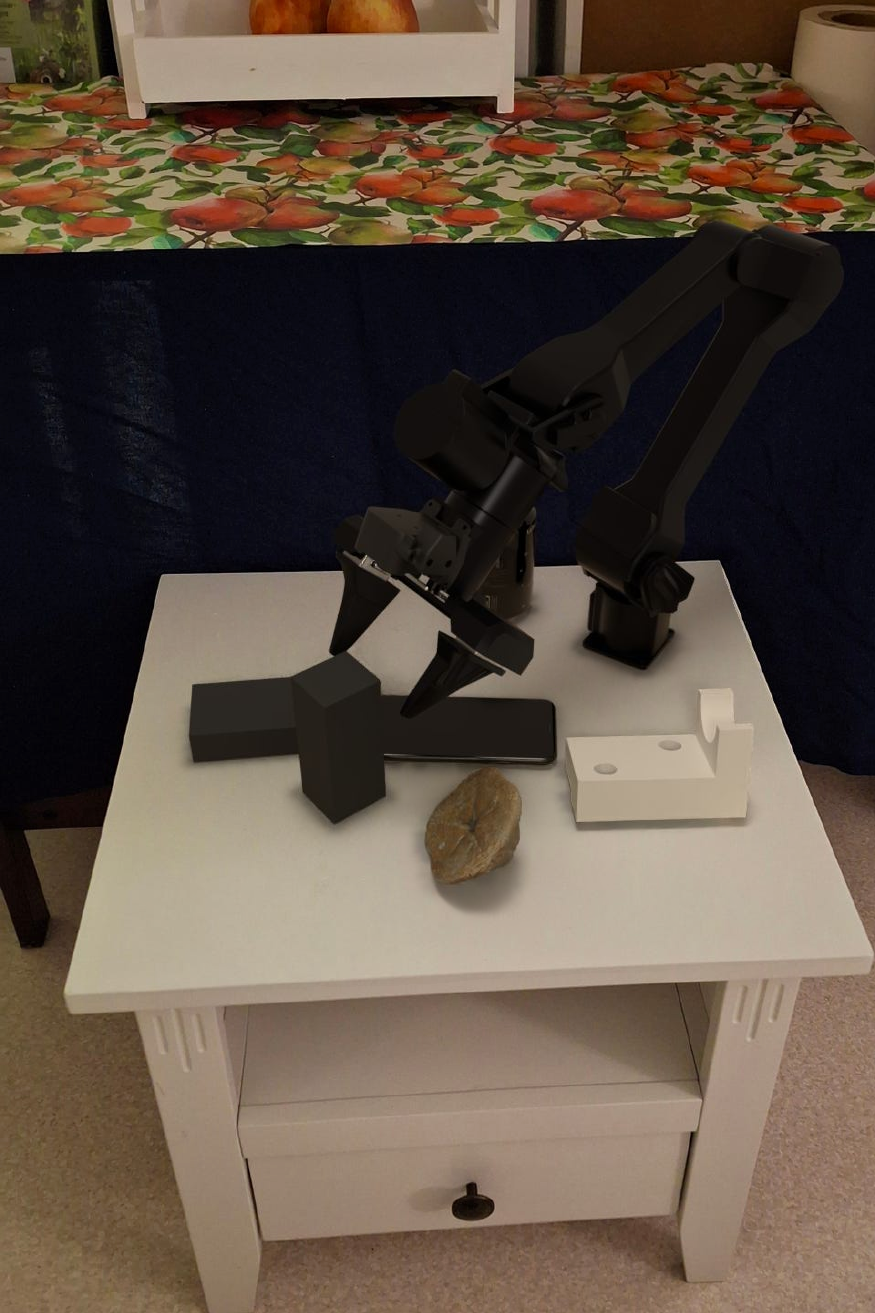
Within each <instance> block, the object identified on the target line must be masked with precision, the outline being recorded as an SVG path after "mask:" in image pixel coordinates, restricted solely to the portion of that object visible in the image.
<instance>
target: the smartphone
mask: <svg viewBox="0 0 875 1313" xmlns="http://www.w3.org/2000/svg"><path fill="white" fill-rule="evenodd" d="M408 696H409V694H408V695H407V694H405V695H403V694H381V697H382V720H383V742H384V762H397V763H399V762H400V763H434V764H437V763H438V764H464V765H465V764H468V765H469V764H470V765H499V766H500V765H502V766H503V765H504V766H505V765H508V766H510V765H511V766H535V767H537V766H539V767H545V766H550V765H553V764H554V763H555V762H556V761H557V758H558V726H557V725H558V724H557V723H558V722H557V707H556V704H555V703H554V702H553V701H552V700H549V699H546V698H522V697H521V698H520V697H484V696H483V697H482V696H450V695H449V696H448V697H446V698H444V699H443V700H441V701H439V702H438V703H436V704H435V705H433V706H431V707H430V708H428V709H426V710H425V711H423V712H422V713H420V714H418V715H417V716H415V717H413V718H412V719H406V718H404V717H402V716H401V715H400V711H401V709H402V707H403V705H404V703H405V701H406V699H407V697H408Z"/></svg>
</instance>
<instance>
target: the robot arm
mask: <svg viewBox="0 0 875 1313" xmlns="http://www.w3.org/2000/svg"><path fill="white" fill-rule="evenodd" d="M844 278H845V270H844V268H843V265H842V261H841V254H840V252H839V249H838V248H837V247H836V246H834V245H832V244H830V243H828V242H825V241H821V240H819V239H816V238H813V237H810V236H807V235H804V234H801V233H798V232H796V231H793V230H789V229H787V228H784V227H782V226H778V225H775V224H765V225H763V226H761V227H759V228H754V229H752V230H749V229H746V228H743V227H741V226H738V225H735V224H732V223H730V222H726V221H724V220H721V219H718V220H710V221H709V220H707V221H706V222H704V223H702V224H700V226H699V227H698V228H697V229H696V230H695V232H694V234H693V236H692V237H691V240H690V242H689V243H688V244H687V245H686V246H685V247H684V248H683V249H682V250H681V251H679V252H678V253H677V254H675V256H673V257H672V258H671V259H669V261H667V263H666V264H664V265H663V266H662V267H661V268H660V269H658V270H657V271H656V272H654V273H653V275H651V276H650V277H648V278H647V280H645V281H644V282H643V283H642V284H641V285H640V286H638V287H637V288H636V289H635V290H634V291H633V292H631V293H630V294H629V295H628V296H627V297H626V298H624V299H623V300H622V301H621V302H620V303H619V304H618V305H617V306H615V307H614V308H613V309H611V311H609V313H607V314H606V315H605V316H604V317H603V318H601V320H599V321H598V322H597V323H594V324H593V325H592V326H590V327H588V328H587V329H585V330H582V331H577V332H573V333H570V334H566V335H561V336H558V337H557V336H556V337H554V338H552V339H551V340H549V341H547V342H546V343H545V344H543V345H541V346H540V347H539V348H537V349H535V350H534V351H532V352H531V353H529V354H527V355H526V356H525V357H523V358H522V359H521V360H520V361H519V362H518V363H517V364H516V365H515V366H514V367H513V368H511V369H509V370H507V371H505V372H503V373H500V374H499V375H498V376H495V377H494V378H492V379H490V380H488V381H486V382H484V383H482V384H478V383H477V382H476V381H475V380H474V379H473V378H471V377H469V376H467V375H466V374H463V373H462V372H461V371H459V370H456V369H452V370H450V372H449V373H448V375H447V377H446V378H445V380H444V381H443V382H437V383H431V384H429V385H427V386H424V387H423V388H421V389H419V390H418V391H416V392H415V393H414V395H412V396H411V397H408V398H406V399H405V401H404V402H403V404H402V405H401V407H400V409H399V411H398V412H397V415H396V419H395V421H394V425H393V440H394V443H395V446H396V449H397V450H398V451H399V452H400V453H401V455H403V456H404V457H405V458H406V459H408V460H409V461H411V462H412V463H414V464H415V465H417V466H418V467H420V468H421V469H422V470H424V471H425V472H427V473H428V474H429V475H431V476H432V477H434V478H435V479H436V480H438V481H439V482H441V483H442V484H444V485H445V486H446V487H448V488H449V489H451V491H450V492H449V494H448V496H447V497H446V498H445V500H442V499H440V498H439V497H437V496H436V495H434V496H433V497H432V499H429V500H428V501H427V502H426V503H425V505H424V506H423V508H422V509H421V510H420V511H411V510H408V509H402V508H394V507H393V508H392V507H381V506H379V507H378V506H368V507H367V509H366V512H365V515H364V517H362V516H361V515H359V514H358V513H357V514H354V515H351V516H349V517H347V518H344V519H342V521H341V522H340V523H339V525H338V527H337V528H336V530H335V531H334V533H333V535H332V536H331V537H330V541H332V542H333V543H334V544H335V545H337V546H338V547H340V548H341V549H342V550H343V552H341V551H339V550H336V551H335V558H336V559H337V560H338V561H339V563H340V566H341V571H342V574H343V579H344V581H343V582H344V583H343V589H342V590H343V591H342V596H341V602H340V606H339V609H338V613H337V618H336V622H335V624H334V629H333V633H332V637H331V641H330V644H329V648H328V653H329V654H330V655H331V656H332V657H334V656H336V655H338V654H340V653H342V652H344V651H347V652H348V651H349V649H351V648H352V647H353V646H354V645H355V643H356V642H357V641H358V640H359V639H360V638H361V637H362V636H363V634H365V632H366V631H367V630H368V629H369V628H370V627H371V625H372V624H373V623H374V622H375V621H376V620H377V618H378V617H379V616H380V615H382V613H383V612H384V611H385V610H386V609H387V607H388V606H389V605H390V604H391V603H392V601H394V599H395V598H396V597H397V596H398V595H399V594H400V592H401V589H400V588H398V587H397V586H396V585H394V583H392V582H391V581H389V579H390V578H391V579H392V580H395V581H399V582H400V583H402V584H403V585H404V586H405V587H406V588H408V589H409V590H411V591H412V592H413V593H415V594H416V595H417V596H419V597H420V598H422V599H423V600H424V601H425V602H427V603H428V604H429V605H430V606H432V607H433V608H434V609H435V610H437V611H438V612H439V613H441V614H442V615H444V617H447V618H448V619H449V621H450V633H451V634H453V635H454V636H455V637H453V636H451V635H449V634H447V633H445V631H442V630H440V629H438V632H437V639H436V640H437V642H436V652H435V655H434V656H433V658H432V659H431V661H430V662H429V664H428V665H427V667H426V669H425V670H424V671H423V672H422V674H421V676H420V678H419V679H418V681H417V682H416V683H415V685H414V686H413V687H412V689H411V690H410V693H409V694H408V695H409V696H408V697H407V699H406V701H405V703H404V705H403V707H402V709H401V711H400V715H401V716H402V717H404V718H406V719H412V718H413V717H415V716H417V715H418V714H420V713H422V712H423V711H425V710H426V709H428V708H430V707H431V706H433V705H435V704H436V703H438V702H439V701H441V700H443V699H444V698H446V697H448V696H449V697H450V696H451V695H453V694H454V693H456V692H458V691H460V690H461V689H463V688H465V687H467V686H469V685H472V684H474V683H476V682H478V681H480V680H482V679H484V678H486V677H488V676H490V675H492V674H495V675H497V676H498V677H503V676H504V675H505V674H506V673H507V671H506V670H505V669H507V670H509V671H510V672H512V673H514V674H516V675H518V676H522V675H523V674H524V672H525V671H526V669H528V668H527V667H528V666H529V665H530V664H531V662H532V661H533V659H534V656H535V640H536V639H535V638H534V637H532V636H531V635H530V634H528V633H527V632H525V631H524V630H522V629H521V628H520V627H518V626H517V625H515V624H514V623H513V622H512V621H510V619H508V620H507V619H506V618H504V617H503V616H501V615H499V614H498V613H496V612H494V611H493V610H491V609H489V608H488V607H486V606H484V605H483V604H481V603H482V602H483V600H484V599H485V597H486V596H484V595H483V594H482V593H480V592H479V591H477V590H478V589H479V587H480V586H481V584H482V583H483V581H484V580H485V578H486V577H487V575H488V574H489V572H490V571H491V569H492V568H493V566H494V565H495V563H496V562H497V560H498V559H499V557H502V558H503V559H505V560H506V561H508V562H510V560H511V559H512V557H513V556H514V554H515V553H516V550H514V549H513V548H511V547H510V546H508V544H509V543H510V541H511V540H512V538H513V537H514V535H515V533H514V532H517V530H518V529H519V527H520V526H521V525H522V523H523V522H524V520H525V519H526V517H527V516H528V514H529V513H530V511H531V510H532V508H533V507H535V505H536V504H537V502H539V499H540V498H541V496H542V495H543V493H544V492H545V491H546V489H547V488H548V486H550V487H553V488H554V489H555V490H558V491H559V492H561V493H563V492H566V491H567V490H568V488H569V478H568V474H567V471H566V459H567V458H566V455H565V454H563V453H561V452H559V451H558V450H561V451H562V452H567V453H575V454H579V453H582V452H584V451H585V450H587V449H589V448H590V447H591V446H593V445H594V444H595V443H596V442H597V441H599V439H600V438H601V437H602V436H603V435H604V433H606V431H607V430H608V429H609V428H610V427H611V426H612V425H613V424H614V422H615V421H616V420H617V419H618V418H619V417H620V416H621V414H622V413H623V412H624V410H625V408H626V404H627V401H628V397H629V393H630V390H631V386H632V384H633V383H634V382H635V381H636V380H637V378H638V377H640V375H642V373H643V372H645V370H646V369H648V368H649V367H650V366H651V365H652V364H654V362H656V361H657V360H658V359H659V358H660V357H662V356H663V355H664V354H665V353H666V352H667V351H668V350H669V349H671V347H672V346H674V345H675V344H676V343H678V342H679V341H680V340H681V339H682V338H683V337H684V336H685V335H686V334H688V333H689V332H690V331H691V330H692V329H693V328H694V327H696V326H697V325H698V324H699V323H700V322H701V321H702V320H703V319H705V318H706V317H707V316H708V315H709V314H710V313H712V312H713V310H715V309H716V308H717V307H719V305H720V304H722V321H721V324H720V327H718V330H717V332H716V333H715V335H714V337H713V339H712V340H711V342H710V344H709V345H708V347H707V349H706V351H705V352H704V354H703V355H702V357H701V359H700V361H699V363H698V365H697V366H696V368H695V370H694V372H693V373H692V375H691V376H690V378H689V381H688V382H687V384H686V385H685V387H684V388H683V391H682V392H681V394H680V396H679V398H678V399H677V401H676V403H675V405H673V408H672V410H671V412H669V415H668V416H667V418H666V421H665V422H664V424H663V425H662V427H661V429H660V431H659V432H658V434H657V436H656V438H655V440H654V442H653V443H652V445H651V446H650V448H649V450H648V452H647V453H646V455H645V456H644V458H643V460H642V461H641V463H640V465H639V467H638V469H637V471H636V472H635V474H634V476H632V478H630V479H628V480H627V481H626V482H624V483H621V484H620V485H618V486H617V487H615V488H613V489H612V488H611V487H609V486H608V485H603V486H601V488H599V489H598V490H597V491H596V493H595V495H594V497H593V499H592V502H591V503H590V506H589V507H588V509H587V511H586V512H585V514H584V515H583V516H582V517H581V519H580V520H579V521H578V522H577V523H576V526H577V527H578V529H577V531H576V533H575V536H574V540H573V544H572V547H573V549H574V551H575V552H574V554H575V557H574V558H575V560H576V562H577V564H578V566H580V567H581V569H582V572H583V575H585V576H586V577H588V578H591V579H593V580H594V581H596V583H595V587H594V590H593V591H591V593H590V594H589V602H588V613H587V624H586V629H587V631H588V632H590V633H589V634H588V635H587V636H585V638H584V639H583V640H582V648H583V649H585V650H588V651H591V652H593V653H595V654H598V655H600V656H604V657H606V658H608V659H612V660H614V661H617V662H619V663H622V664H625V665H627V666H630V667H632V668H634V669H637V670H641V671H645V670H648V669H649V668H650V666H652V664H653V663H654V662H655V661H656V659H657V658H658V657H659V656H660V655H661V653H662V652H663V651H664V649H666V647H667V646H668V645H669V643H671V641H672V640H673V639H674V638H675V636H676V630H675V629H673V628H671V627H670V623H671V622H670V621H671V616H672V614H675V613H676V612H678V609H679V605H680V603H682V602H684V601H686V600H687V599H688V598H689V595H690V593H691V590H692V589H693V588H692V587H693V585H694V582H695V579H696V578H695V576H694V575H692V573H690V572H688V571H687V570H686V569H684V568H683V567H682V566H681V565H680V564H678V563H677V560H678V558H679V556H680V554H681V551H682V549H683V548H684V545H685V542H686V541H685V537H686V535H685V534H686V533H685V530H686V527H685V524H686V520H685V519H686V516H685V515H686V514H685V513H686V512H685V511H686V509H685V508H686V506H687V503H688V502H689V500H690V499H691V496H692V495H693V493H694V492H695V489H696V488H697V487H698V484H699V483H700V481H701V479H702V478H703V476H704V475H705V473H706V471H707V470H708V468H709V466H710V464H711V462H712V461H713V459H714V457H715V456H716V454H717V452H718V450H719V448H720V447H721V445H722V444H723V442H724V440H725V439H726V437H727V435H728V433H729V432H730V430H731V428H732V426H733V425H734V423H735V422H736V420H737V419H738V416H739V414H740V413H741V411H742V410H743V408H744V406H745V405H746V403H747V401H748V400H749V398H750V396H751V395H752V392H753V391H754V389H755V388H756V385H757V384H758V382H759V380H760V379H761V377H762V376H763V373H764V372H765V370H766V368H767V367H768V366H769V363H770V362H771V360H772V358H773V357H774V356H775V354H776V353H777V352H778V351H779V350H782V349H783V348H785V347H786V346H788V345H790V344H791V343H793V342H794V341H796V340H798V339H799V338H801V337H803V336H804V335H806V334H807V333H809V332H811V330H812V329H813V328H814V326H815V325H816V324H817V322H818V321H819V319H820V318H821V317H822V315H823V314H824V312H825V311H826V310H827V308H828V307H829V306H830V304H831V303H833V301H834V300H835V299H836V298H837V297H838V295H839V293H840V291H841V289H842V286H843V282H844ZM505 526H506V527H505ZM508 528H509V529H508ZM510 529H511V530H512V531H514V532H512V531H511V530H510ZM422 576H425V577H427V578H428V580H427V581H426V583H425V582H423V581H422V580H420V578H421V577H422ZM442 592H443V593H442ZM444 593H445V594H446V595H448V596H446V595H445V594H444Z"/></svg>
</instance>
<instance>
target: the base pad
mask: <svg viewBox="0 0 875 1313" xmlns="http://www.w3.org/2000/svg"><path fill="white" fill-rule="evenodd" d="M189 710H190V711H189V725H188V739H189V740H188V741H189V744H190V750H191V756H192V761H193V763H203V762H204V763H205V762H215V761H226V760H227V761H228V760H240V759H251V758H252V759H253V758H264V757H276V756H286V755H288V756H289V755H299V753H298V743H297V733H296V724H295V714H294V705H293V695H292V686H291V676H284V677H270V678H257V679H246V680H245V679H243V680H231V681H219V682H218V681H216V682H205V683H193V684H192V685H191V697H190V709H189Z"/></svg>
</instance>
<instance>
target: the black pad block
mask: <svg viewBox="0 0 875 1313" xmlns="http://www.w3.org/2000/svg"><path fill="white" fill-rule="evenodd" d="M290 677H291V686H292V695H293V705H294V714H295V724H296V733H297V743H298V753H299V754H298V760H299V761H298V762H299V770H300V781H301V789H302V793H303V794H304V795H305V797H307V799H309V801H310V802H311V803H313V805H314V806H316V808H317V809H318V810H320V812H321V813H322V814H323V815H324V816H325V817H326V818H327V819H328V820H329V821H330V822H331V823H332V824H333V825H336V824H338V823H339V822H342V821H343V820H345V819H347V818H349V817H350V816H352V815H354V814H356V813H358V812H360V811H361V810H363V809H365V808H367V807H369V806H371V805H373V804H374V803H376V802H378V801H380V800H382V799H383V798H385V797H386V796H387V790H386V789H387V788H386V767H385V766H386V764H385V761H384V742H383V720H382V697H381V695H382V680H381V679H380V678H379V677H378V676H376V675H375V674H374V673H373V672H372V671H370V669H369V668H367V667H366V666H365V665H364V664H362V663H361V662H360V661H359V660H358V659H356V658H355V657H354V656H353V655H352V654H351V653H350V652H348V650H347V651H344V652H342V653H340V654H338V655H336V656H331V657H330V658H327V659H325V660H323V661H320V662H319V663H317V664H315V665H312V666H310V667H308V668H306V669H304V670H301V671H300V672H296V673H295V674H293V675H291V676H290Z"/></svg>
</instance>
